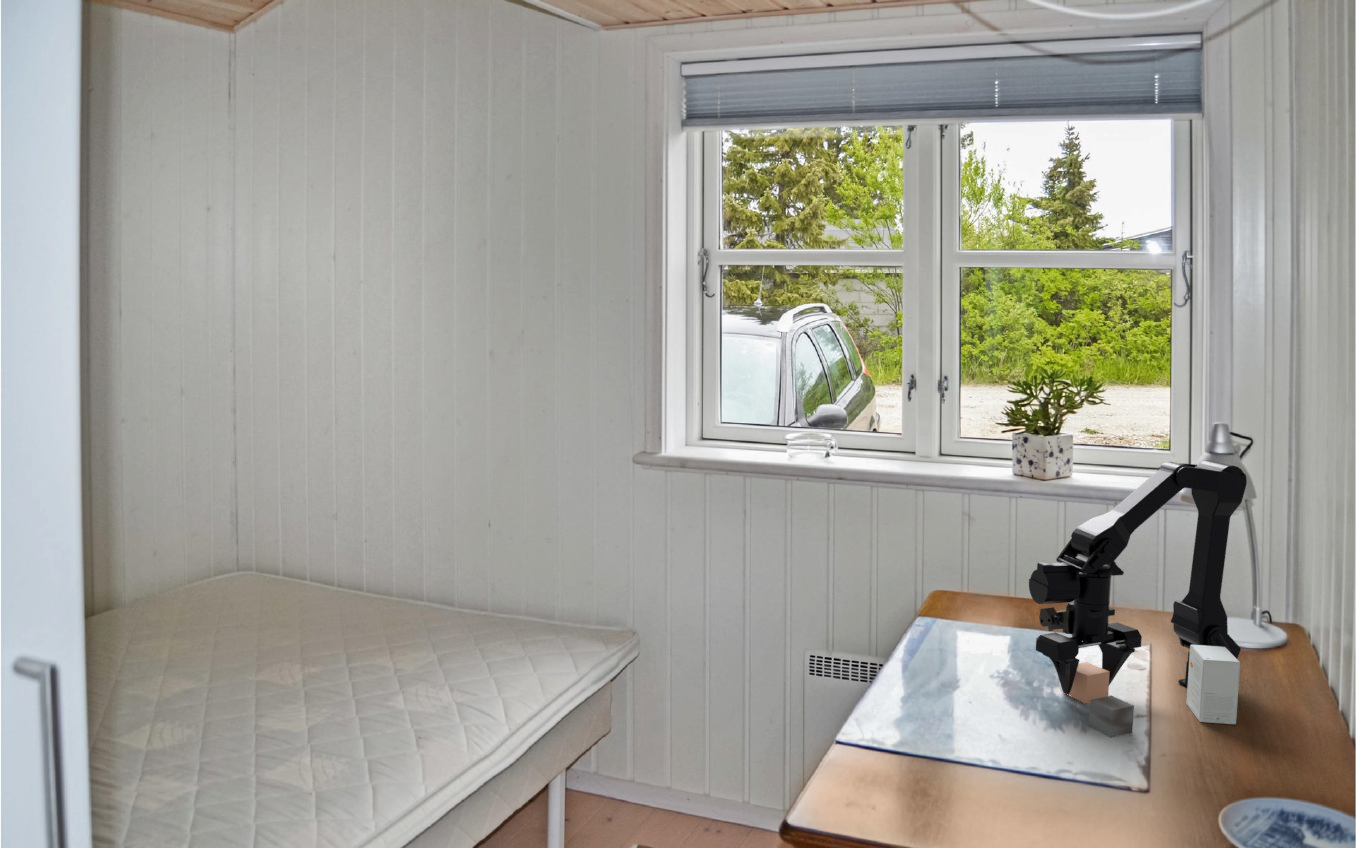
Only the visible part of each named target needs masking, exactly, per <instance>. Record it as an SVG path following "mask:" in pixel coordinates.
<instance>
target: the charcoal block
mask: <svg viewBox="0 0 1356 848" xmlns="http://www.w3.org/2000/svg"><path fill="white" fill-rule="evenodd" d="M1134 709H1135V705H1133V704H1131V703H1129V702H1126V701H1125V700H1122V699H1119V698H1118V697H1115V696H1114V695H1108V696H1107V697H1102V698H1097V699H1092V700H1090V703H1089V719H1088V727H1089V728H1091V729H1093V730H1094V731H1097V732H1099V733H1102V734H1103V735H1105V736H1108V737H1109V738H1114V737H1119V736H1120V737H1121V736H1124V735H1128V734H1132V733H1133V728H1134V727H1133V726H1134V712H1135V711H1134Z"/></svg>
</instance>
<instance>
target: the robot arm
mask: <svg viewBox="0 0 1356 848" xmlns="http://www.w3.org/2000/svg"><path fill="white" fill-rule="evenodd" d="M1247 479H1248V478H1247V475H1246V473H1244V471H1243V470H1242V468H1241V467H1238V466H1236V465H1232V464H1226V463H1223V462H1218V461H1214V460H1209V459H1207V460H1203V461H1201V462H1199V464H1193V463H1180V462H1179V463H1178V462H1173V461H1167V462H1163V463H1162V464H1161V465H1160V466H1158V469H1157V471H1155V473H1153V474H1152V475H1151V476H1149V477H1148V478H1147V479H1146V480H1145V481H1144V482H1143V483H1142V484H1140V486H1138V487H1137V488H1136V489H1134V491H1132V492H1131V493H1130V494H1129V495H1128V496H1126V497H1125V498H1124V499H1123V500H1122V501H1121V502H1119V503H1118V504H1117V505H1116V506H1115V507H1113V508H1112V509H1111V510H1109V511H1108V512H1106V513H1103V514H1101V515H1097V516H1095V517H1092V518H1090V519H1088V520H1086V521H1085V522H1083V523H1082V524H1080V525H1079V526H1077V527H1076V528H1075V529H1074V530H1073V531H1072V533H1071V535H1070V537H1071V538H1070V540H1069V541H1068V542H1067V544H1066V545H1065V546H1064V548H1063V549H1062V551H1061V552H1060V553H1059V554H1058V556H1057V557H1056V562H1044V561H1042V562H1040V561H1039V562H1037V564H1036V569H1034V570H1033V571H1032V573H1031V575H1030V578H1029V579H1028V588H1029V589H1028V590H1029V594H1030V596H1031V598H1032V600H1033V601H1034V602H1035V603H1036V604H1038V605H1045V604H1046V605H1049V604H1063V603H1065V604H1066V603H1067V604H1066V608H1065V610H1058V611H1057V610H1056V609H1055V607H1054V606H1051V607H1044V608H1043V607H1042V608H1040V611H1039V615H1038V616H1039V617H1038V618H1039V624H1040V626H1041V627H1043V628H1045V627H1047V630H1048V632H1050V633H1045V634H1040V635H1039V636H1037V637H1036V640H1035V651H1036V652H1038V653H1040V654H1042V655H1043V656H1045V657H1047V658H1048V659H1050V661H1051V662H1052V664H1053V666H1054V669H1055V671H1056V675H1057V677H1058V680H1059V683H1060V687H1061V690H1062V692H1063V694H1064V693H1065V694H1069V693H1070V691H1071V688H1072V685H1073V682H1074V678H1075V675H1076V671H1077V668H1078V664H1080V659H1078V658H1076V657H1077V656H1078V655H1079V650H1080V649H1083V648H1087V647H1093V646H1098V647H1099V649H1100V651H1101V653H1102V654H1101V655H1102V656H1101V657H1102V658H1101V668H1102V669H1105V670H1107V671H1110V673H1109V686H1110V685H1111V684H1112V682H1113V680H1114V679H1115V677H1116V676H1117V674H1118V673H1119V671H1120V670H1121V668H1122V667H1123V665H1124V664H1125V662H1126V661H1127V660H1128V659H1129V657H1130V656H1131V655H1132V653H1135V652H1136V649H1135V648H1141V647H1142V637H1143V636H1142V634H1141V633H1140V630H1139V629H1138V628H1134V627H1131V626H1129V625H1126V624H1123V623H1120V622H1111V623H1109V619H1110V616H1115V614H1116V609H1115V608H1112V607H1110V603H1111V589H1112V587H1111V586H1112V577H1113V576H1115V577H1116V576H1124V574H1125V572H1124V571H1123V569H1121V568H1120V567H1119V566H1118V565H1117V563H1116V562H1115V561H1116V560H1117V559H1118V557H1120V555H1121V554H1122V553H1123V551H1125V549H1126V548H1127V546H1128V544H1129V541H1130V538H1131V535H1133V533H1134V532H1135V531H1136V530H1137V529H1138V528H1139V527H1140V526H1142V525H1143V524H1144V523H1145V522H1146V521H1148V519H1150V518H1151V517H1152V516H1153V515H1155V513H1157V512H1158V511H1159V510H1160V509H1162V507H1163V506H1165V505H1166V504H1167V503H1168V502H1169V501H1171V500H1172V499H1173V498H1174V497H1175V496H1176V495H1178V494H1179V493H1180V492H1181V491H1182V490H1184V489H1191V497H1192V499H1193V502H1194V504H1195V507H1196V509H1197V521H1196V530H1195V538H1194V546H1193V555H1192V563H1191V571H1190V580H1189V585H1188V586H1189V588H1188V592H1187V593H1186V595H1185V596H1184V598H1183V599H1182V600H1181V601H1179V600H1174V602H1173V606H1172V607H1173V613H1172V618H1171V619H1170V623H1172V624H1173V632H1174V633H1175V634H1176V636H1178V639H1179V644H1180V646H1182V647H1185V648H1187V649H1188V650H1190V645H1205V646H1220V647H1226V648H1227V649H1228V650H1229V651H1230V652H1231V654H1232V655H1233V656H1234V657H1235V658H1236V659H1237V660H1238V658H1239V655H1240V653H1241V650H1242V649H1241V647H1240V646H1239V645H1238V643H1237V642H1235V640H1234V639H1233V638H1232V636H1230V634H1229V633H1228V632H1229V629H1228V626H1229V625H1228V614H1227V612H1226V610H1225V607H1224V604H1223V601H1222V599H1221V595H1222V586H1223V579H1224V569H1225V561H1226V555H1227V554H1226V553H1227V547H1228V546H1227V545H1228V538H1229V529H1230V523H1231V522H1230V521H1231V516H1232V515H1233V514H1234V512H1235V511H1236V510H1238V509H1237V508H1238V507H1239V506H1240V505H1241V504H1242V502H1243V499H1244V495H1245V491H1246V489H1247V483H1248V482H1247V481H1248V480H1247ZM1078 557H1080V558H1078ZM1081 558H1083V559H1085V560H1086V561H1085V560H1082V559H1081ZM1054 630H1062V633H1064V634H1066V635H1071V637H1068V636H1065V635H1063V634H1060V633H1058V632H1052V631H1054ZM1189 656H1190V651H1188V652H1187V661H1186V663H1185V664H1186V665H1185V676H1184V677H1185V678H1181V679H1178V684H1180V685H1183V686H1185V687H1188V672H1189ZM1065 694H1064V695H1065Z"/></svg>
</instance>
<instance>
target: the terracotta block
mask: <svg viewBox="0 0 1356 848" xmlns="http://www.w3.org/2000/svg"><path fill="white" fill-rule="evenodd" d="M1109 673H1110V671H1107V670H1105V669H1102V667H1100V666H1097V665H1095V664H1092V663H1091V662H1088V661H1087V662H1086V661H1085V662H1081V663H1080V662H1079V664H1078V668H1077V671H1076V675H1075V678H1074V682H1073V685H1072V688H1071V691H1070V693H1069V694H1068V695H1071V696H1072V697H1073V698H1072V697H1071V698H1072V699H1074V698H1076V699H1078V700H1080V701H1082V702H1083V704H1085V703H1089V704H1090V700H1092V699H1097V698H1102V697H1107V696H1109V689H1110V687H1109V686H1110V685H1109ZM1076 699H1075V700H1076ZM1078 700H1077V701H1078ZM1080 701H1079V702H1080ZM1082 702H1081V703H1082Z"/></svg>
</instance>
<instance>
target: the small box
mask: <svg viewBox="0 0 1356 848" xmlns="http://www.w3.org/2000/svg"><path fill="white" fill-rule="evenodd" d="M1189 652H1190V656H1189V672H1188V686H1187V691H1186V703H1185V704H1186V705H1187V707H1188V708H1189V709H1190V711H1191V712H1192V713H1193V715H1194V716H1195V717H1196V719H1197V720H1198V721H1199V722H1200V723H1209V724H1212V723H1213V724H1224V725H1237V715H1238V702H1239V688H1240V687H1239V686H1240V671H1241V661H1240V660H1239V659H1238V658H1237V659H1236V658H1235V657H1234V656H1233V655H1232V654H1231V652H1230V651H1229V650H1228V649H1227V648H1226V647H1220V646H1205V645H1190V649H1189Z"/></svg>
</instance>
